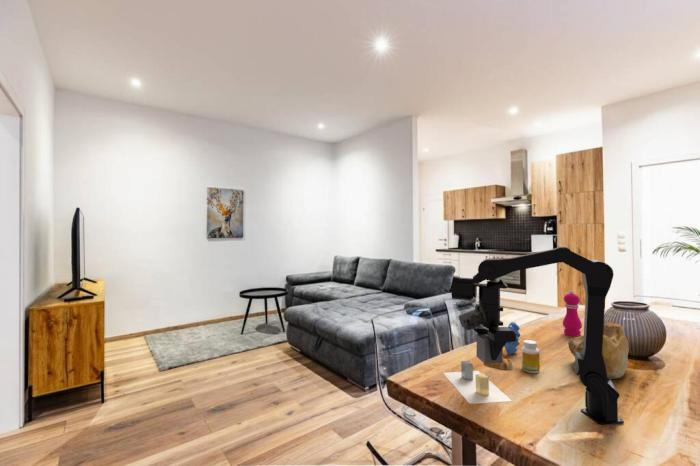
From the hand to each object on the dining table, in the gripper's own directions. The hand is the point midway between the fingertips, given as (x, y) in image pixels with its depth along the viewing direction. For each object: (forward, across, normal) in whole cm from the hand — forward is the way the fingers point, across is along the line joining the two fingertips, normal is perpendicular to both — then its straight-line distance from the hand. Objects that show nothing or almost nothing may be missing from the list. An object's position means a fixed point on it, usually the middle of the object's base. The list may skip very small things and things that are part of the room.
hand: (489, 356), depth 97 cm
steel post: (+10, -9, -3) cm, 14 cm away
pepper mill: (+11, -50, +64) cm, 82 cm away
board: (+12, -4, -3) cm, 12 cm away
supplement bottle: (+12, -16, +22) cm, 29 cm away
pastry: (+12, -18, +13) cm, 25 cm away
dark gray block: (+1, 0, 0) cm, 1 cm away
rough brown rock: (+11, -15, +45) cm, 49 cm away
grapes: (+12, -32, +24) cm, 41 cm away
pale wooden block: (+10, +1, -2) cm, 11 cm away
